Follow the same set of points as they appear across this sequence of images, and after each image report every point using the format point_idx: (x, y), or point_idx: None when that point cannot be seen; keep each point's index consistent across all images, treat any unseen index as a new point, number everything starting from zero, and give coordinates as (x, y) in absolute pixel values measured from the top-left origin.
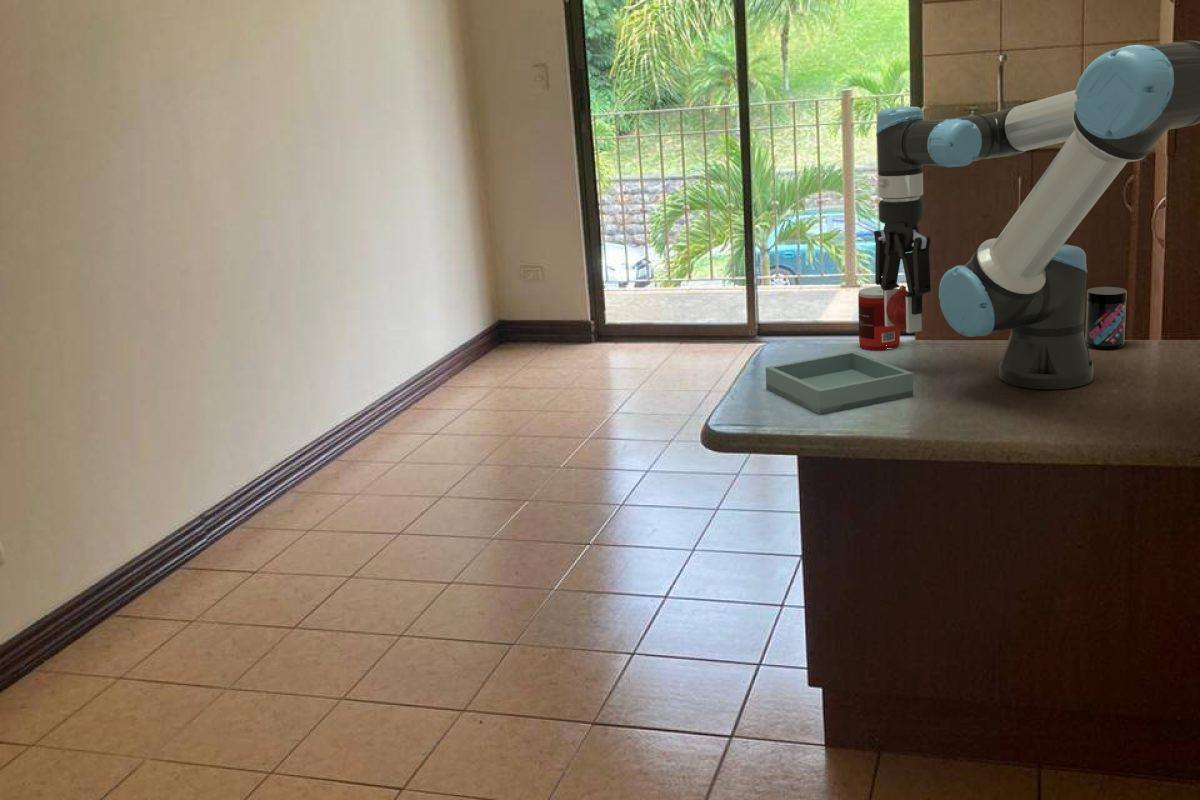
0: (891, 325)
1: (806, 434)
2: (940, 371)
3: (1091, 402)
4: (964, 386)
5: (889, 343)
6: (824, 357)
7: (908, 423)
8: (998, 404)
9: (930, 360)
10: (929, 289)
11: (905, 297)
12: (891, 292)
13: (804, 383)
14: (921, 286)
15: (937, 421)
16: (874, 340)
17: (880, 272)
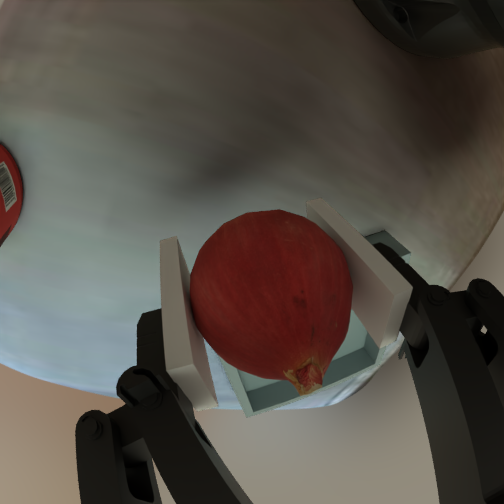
0: (188, 270)
1: (395, 349)
2: (278, 107)
3: None
4: (392, 125)
5: (14, 176)
6: (231, 368)
7: (440, 265)
8: (464, 138)
9: (161, 86)
10: (491, 290)
11: (345, 337)
12: (208, 383)
13: (344, 380)
14: (486, 335)
15: (455, 236)
16: (13, 222)
17: (156, 501)
